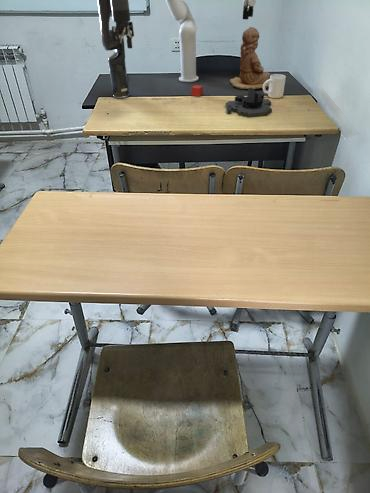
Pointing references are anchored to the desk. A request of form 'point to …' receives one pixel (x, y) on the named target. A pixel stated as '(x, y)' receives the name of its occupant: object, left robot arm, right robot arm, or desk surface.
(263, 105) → the abstract sculpture
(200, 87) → the brick
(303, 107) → the desk surface
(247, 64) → the sculpture
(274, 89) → the mug
